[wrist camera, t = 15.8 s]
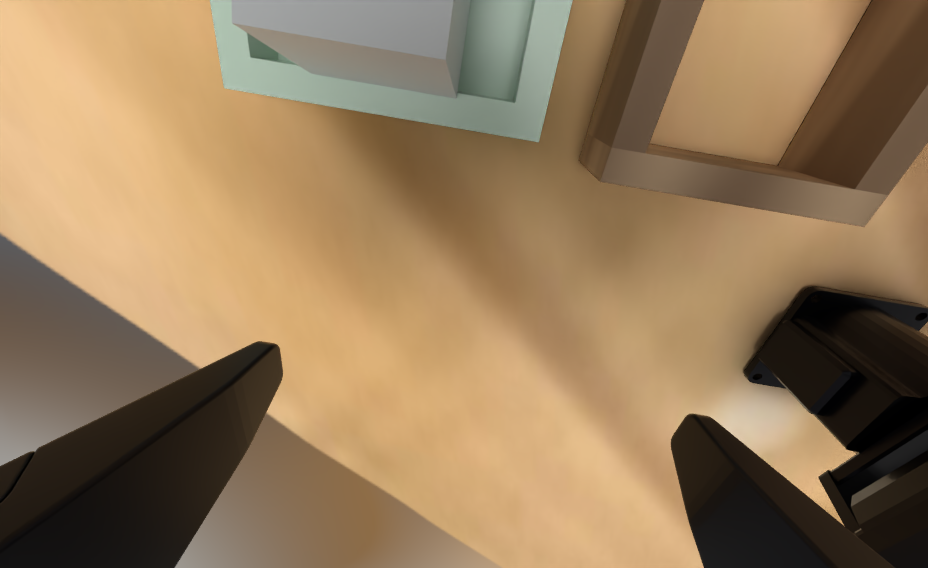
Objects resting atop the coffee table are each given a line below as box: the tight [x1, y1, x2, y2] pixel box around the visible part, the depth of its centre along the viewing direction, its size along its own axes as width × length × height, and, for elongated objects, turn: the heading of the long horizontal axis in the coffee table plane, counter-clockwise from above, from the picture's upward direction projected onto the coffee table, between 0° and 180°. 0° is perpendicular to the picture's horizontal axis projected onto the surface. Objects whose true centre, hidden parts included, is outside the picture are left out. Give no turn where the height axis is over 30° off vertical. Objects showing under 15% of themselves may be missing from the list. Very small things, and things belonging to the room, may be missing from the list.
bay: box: [579, 0, 928, 227], centre depth 13 cm, size 10×8×4 cm
